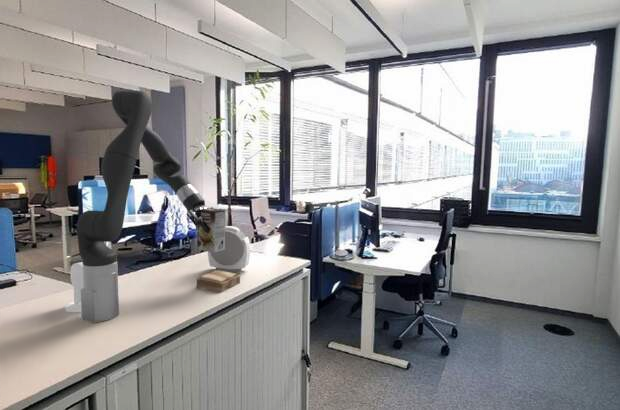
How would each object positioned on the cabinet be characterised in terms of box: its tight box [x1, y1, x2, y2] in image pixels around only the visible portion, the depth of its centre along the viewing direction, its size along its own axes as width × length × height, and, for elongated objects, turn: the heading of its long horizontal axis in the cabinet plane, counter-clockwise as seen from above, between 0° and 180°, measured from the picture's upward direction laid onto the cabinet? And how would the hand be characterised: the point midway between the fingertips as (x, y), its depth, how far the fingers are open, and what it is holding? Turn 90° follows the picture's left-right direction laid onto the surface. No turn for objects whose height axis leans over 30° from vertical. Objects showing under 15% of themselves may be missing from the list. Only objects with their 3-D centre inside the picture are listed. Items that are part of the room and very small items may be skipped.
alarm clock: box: [207, 225, 251, 274], centre depth 162 cm, size 18×8×20 cm, turn 84°
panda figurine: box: [64, 258, 84, 314], centre depth 119 cm, size 12×11×15 cm
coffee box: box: [197, 207, 226, 252], centre depth 141 cm, size 9×6×16 cm
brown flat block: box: [196, 269, 241, 293], centre depth 143 cm, size 12×12×4 cm
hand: (214, 230), depth 140 cm, fingers closed on coffee box, 6 cm apart
